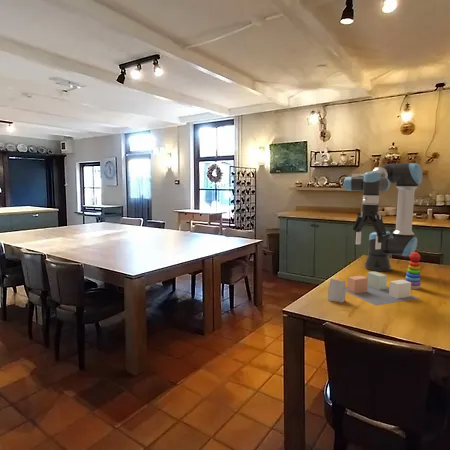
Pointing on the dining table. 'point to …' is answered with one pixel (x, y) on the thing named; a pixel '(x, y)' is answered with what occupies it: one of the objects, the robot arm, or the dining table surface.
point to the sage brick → (377, 280)
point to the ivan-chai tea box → (336, 290)
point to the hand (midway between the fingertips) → (367, 246)
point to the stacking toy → (414, 271)
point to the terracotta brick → (357, 284)
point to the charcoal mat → (379, 296)
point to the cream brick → (400, 289)
